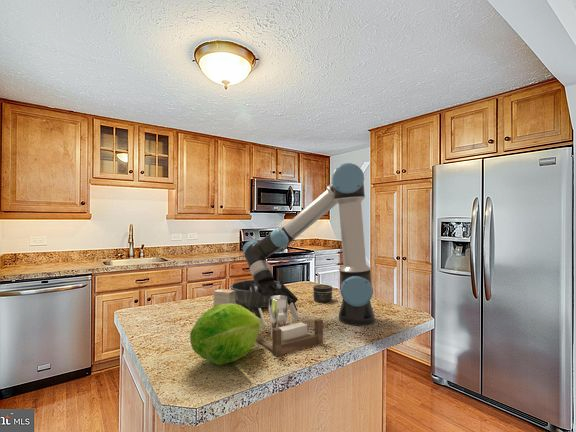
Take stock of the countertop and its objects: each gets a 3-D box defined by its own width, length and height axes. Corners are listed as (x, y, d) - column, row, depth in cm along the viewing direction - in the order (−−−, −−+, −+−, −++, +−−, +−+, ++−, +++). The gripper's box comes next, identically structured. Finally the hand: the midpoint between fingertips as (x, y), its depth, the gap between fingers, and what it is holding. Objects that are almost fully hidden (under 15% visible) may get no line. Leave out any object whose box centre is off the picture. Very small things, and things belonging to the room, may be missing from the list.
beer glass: (285, 343, 110) (285, 300, 110) (266, 341, 111) (266, 299, 111) (289, 335, 116) (289, 295, 116) (271, 334, 118) (271, 294, 118)
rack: (246, 337, 115) (246, 312, 115) (289, 328, 125) (289, 305, 125) (275, 359, 97) (275, 330, 97) (322, 346, 107) (322, 320, 107)
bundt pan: (241, 315, 142) (241, 292, 142) (223, 301, 165) (223, 282, 165) (291, 306, 155) (291, 286, 155) (268, 295, 178) (268, 277, 178)
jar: (333, 303, 160) (333, 288, 160) (313, 303, 161) (313, 288, 161) (331, 298, 170) (331, 284, 170) (312, 298, 171) (312, 284, 171)
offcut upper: (277, 336, 104) (277, 327, 104) (300, 330, 110) (300, 322, 110) (283, 340, 101) (283, 331, 101) (307, 333, 107) (307, 324, 107)
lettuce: (279, 357, 99) (279, 302, 99) (207, 386, 82) (207, 320, 82) (245, 340, 112) (245, 292, 112) (177, 362, 95) (177, 306, 95)
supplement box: (236, 321, 133) (236, 290, 133) (229, 324, 129) (229, 292, 129) (220, 318, 137) (220, 288, 137) (213, 321, 132) (213, 290, 132)
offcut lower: (274, 346, 104) (274, 337, 104) (303, 338, 111) (303, 330, 111) (280, 350, 101) (280, 341, 101) (310, 342, 107) (310, 333, 107)
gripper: (285, 277, 133) (305, 322, 121) (229, 283, 120) (246, 335, 107) (291, 266, 129) (313, 312, 116) (235, 271, 116) (252, 324, 103)
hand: (281, 323), depth 112 cm, fingers open, 13 cm apart
